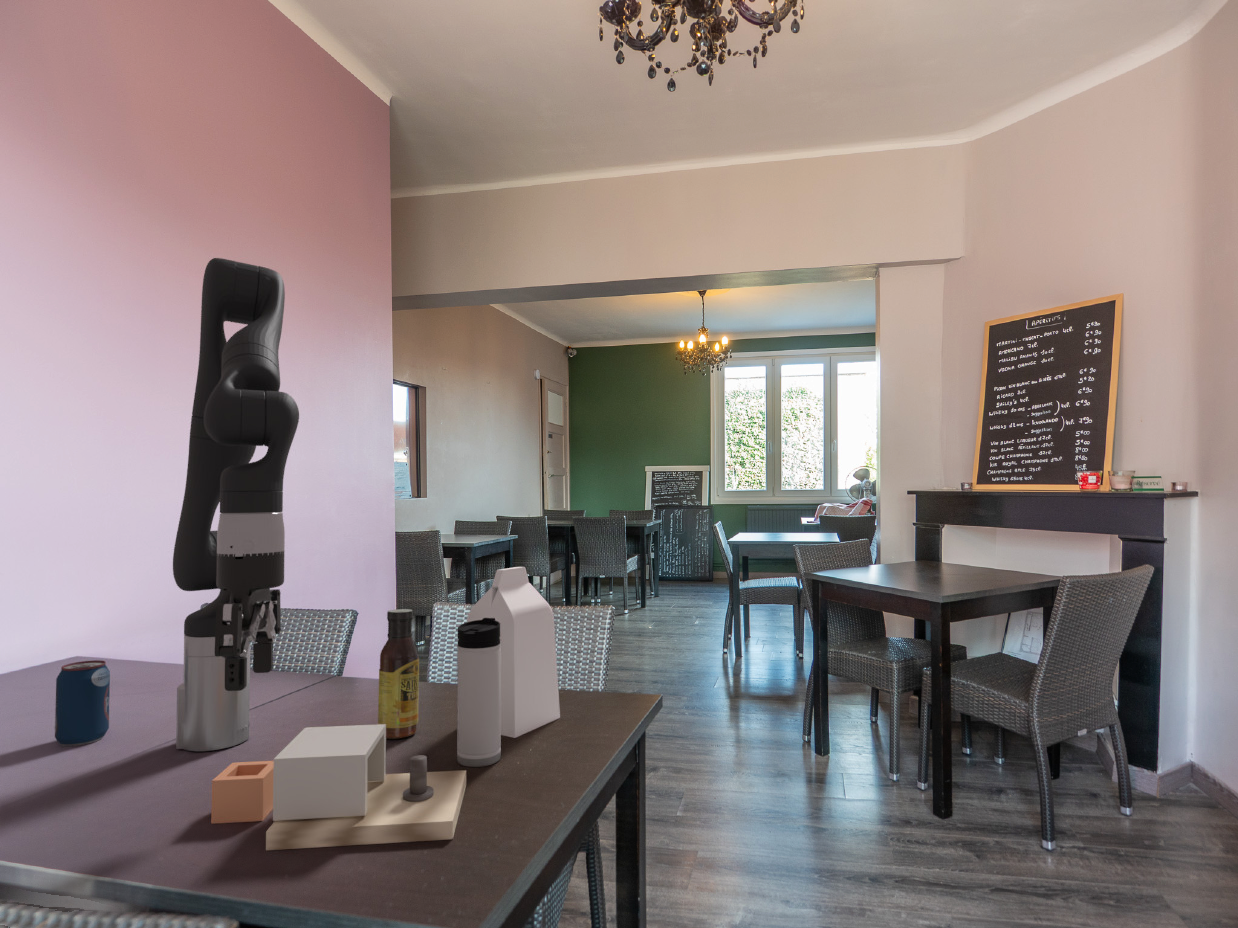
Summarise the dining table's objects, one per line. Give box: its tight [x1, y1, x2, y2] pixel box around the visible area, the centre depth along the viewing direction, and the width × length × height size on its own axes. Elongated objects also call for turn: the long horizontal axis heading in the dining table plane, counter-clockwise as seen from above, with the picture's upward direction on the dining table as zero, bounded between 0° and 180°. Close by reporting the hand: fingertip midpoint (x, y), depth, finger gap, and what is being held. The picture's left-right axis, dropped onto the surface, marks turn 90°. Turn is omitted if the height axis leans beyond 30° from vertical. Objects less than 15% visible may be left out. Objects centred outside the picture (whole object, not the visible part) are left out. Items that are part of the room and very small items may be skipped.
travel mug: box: [456, 618, 502, 768], centre depth 105 cm, size 6×7×20 cm
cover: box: [272, 723, 387, 822], centre depth 87 cm, size 10×11×7 cm
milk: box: [466, 566, 561, 739], centre depth 123 cm, size 12×12×26 cm
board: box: [265, 754, 467, 851], centre depth 87 cm, size 20×15×6 cm
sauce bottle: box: [377, 608, 420, 740], centre depth 117 cm, size 6×6×20 cm
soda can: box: [54, 659, 111, 747], centre depth 115 cm, size 7×7×12 cm
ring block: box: [210, 760, 274, 825], centre depth 88 cm, size 6×6×5 cm
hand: (249, 680), depth 89 cm, fingers open, 8 cm apart
